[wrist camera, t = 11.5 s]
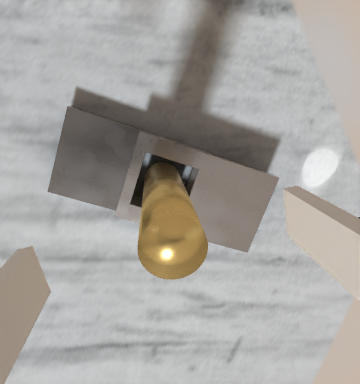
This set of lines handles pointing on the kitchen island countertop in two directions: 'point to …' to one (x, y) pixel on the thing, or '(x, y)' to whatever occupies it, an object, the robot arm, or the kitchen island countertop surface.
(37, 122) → the kitchen island countertop surface
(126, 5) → the kitchen island countertop surface
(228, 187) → the slotted metal plate
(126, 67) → the kitchen island countertop surface
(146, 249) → the pin
